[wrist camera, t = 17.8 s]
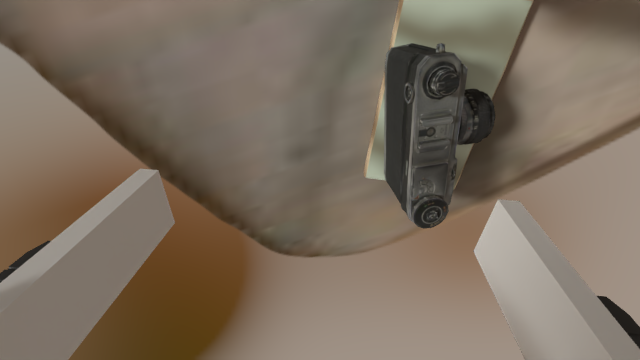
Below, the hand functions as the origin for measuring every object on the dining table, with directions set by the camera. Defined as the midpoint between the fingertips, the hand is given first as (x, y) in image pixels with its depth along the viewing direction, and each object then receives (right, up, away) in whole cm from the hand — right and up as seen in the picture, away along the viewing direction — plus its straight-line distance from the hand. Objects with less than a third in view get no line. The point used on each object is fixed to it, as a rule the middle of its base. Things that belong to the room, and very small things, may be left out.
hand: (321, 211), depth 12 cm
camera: (+12, +8, +22) cm, 26 cm away
